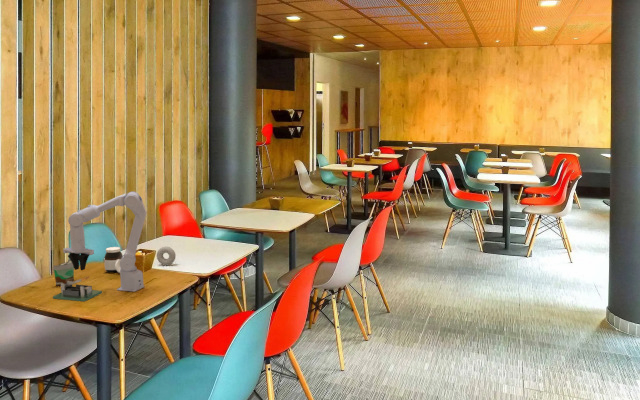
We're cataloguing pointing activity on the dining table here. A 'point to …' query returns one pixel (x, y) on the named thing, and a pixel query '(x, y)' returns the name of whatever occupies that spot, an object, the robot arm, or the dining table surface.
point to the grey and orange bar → (77, 281)
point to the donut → (162, 259)
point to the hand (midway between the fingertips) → (79, 269)
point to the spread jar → (113, 259)
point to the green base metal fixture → (76, 292)
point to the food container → (64, 273)
